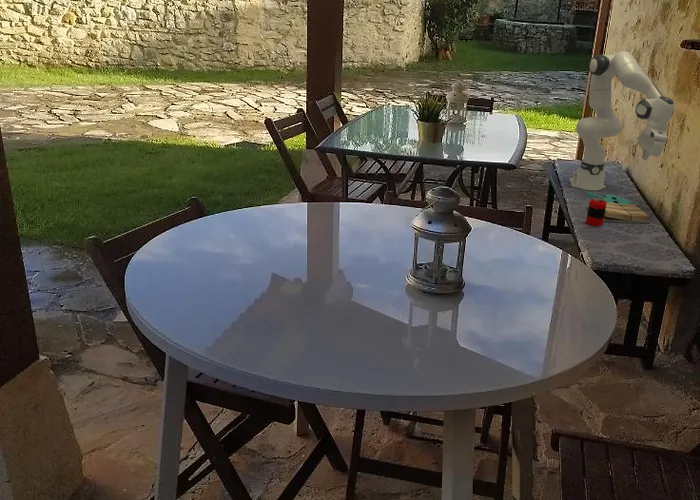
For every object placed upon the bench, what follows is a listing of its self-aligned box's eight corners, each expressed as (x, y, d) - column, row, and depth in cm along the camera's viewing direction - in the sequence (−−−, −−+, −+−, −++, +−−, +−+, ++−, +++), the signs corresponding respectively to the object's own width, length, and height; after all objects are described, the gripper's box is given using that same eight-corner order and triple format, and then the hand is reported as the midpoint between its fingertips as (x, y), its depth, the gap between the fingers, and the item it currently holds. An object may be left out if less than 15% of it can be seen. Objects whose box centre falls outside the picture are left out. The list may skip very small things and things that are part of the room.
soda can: (591, 226, 316) (596, 202, 311) (582, 221, 322) (586, 197, 318) (605, 226, 318) (610, 201, 313) (596, 220, 324) (600, 196, 320)
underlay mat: (586, 208, 341) (586, 206, 340) (633, 210, 341) (633, 208, 341) (599, 222, 322) (600, 220, 322) (649, 223, 322) (650, 222, 322)
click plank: (593, 204, 339) (594, 200, 338) (617, 208, 339) (618, 203, 339) (605, 216, 322) (607, 212, 321) (630, 220, 323) (632, 215, 322)
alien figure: (592, 207, 344) (633, 211, 340) (592, 203, 343) (634, 207, 340) (587, 196, 362) (626, 200, 359) (588, 192, 361) (627, 196, 358)
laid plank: (617, 208, 339) (618, 203, 339) (633, 209, 340) (634, 204, 339) (631, 220, 323) (632, 215, 322) (648, 221, 323) (649, 216, 322)
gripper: (640, 124, 330) (630, 151, 336) (656, 136, 312) (645, 164, 318) (652, 126, 331) (642, 153, 337) (669, 139, 312) (658, 167, 318)
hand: (644, 159), depth 327 cm, fingers closed
